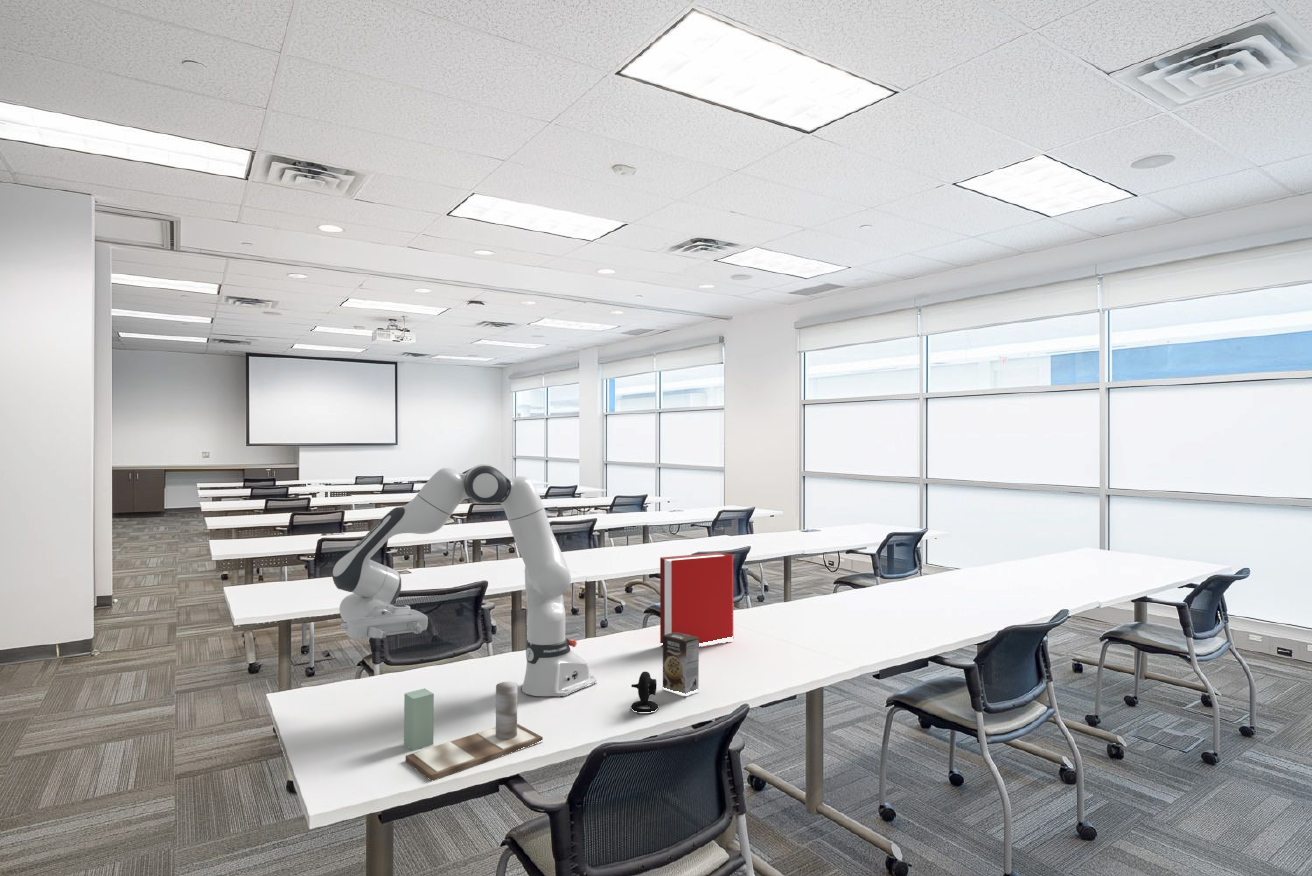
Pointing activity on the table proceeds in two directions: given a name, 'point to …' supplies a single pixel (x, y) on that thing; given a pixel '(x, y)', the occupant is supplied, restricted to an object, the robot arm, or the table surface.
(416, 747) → the sage green tall pillar
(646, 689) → the webcam
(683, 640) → the coffee box
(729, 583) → the book
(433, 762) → the board
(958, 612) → the table surface
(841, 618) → the table surface
